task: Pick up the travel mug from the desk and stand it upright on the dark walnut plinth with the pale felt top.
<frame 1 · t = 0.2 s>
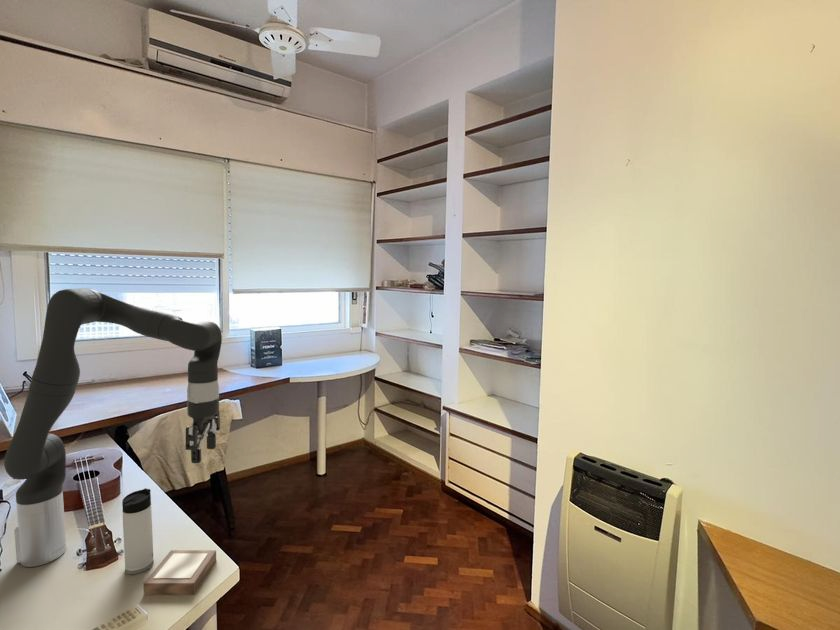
hand: (204, 455, 112), 29 cm above the table, fingers open, 8 cm apart
travel mug: (140, 566, 111), on the table
plinth: (182, 576, 107), on the table
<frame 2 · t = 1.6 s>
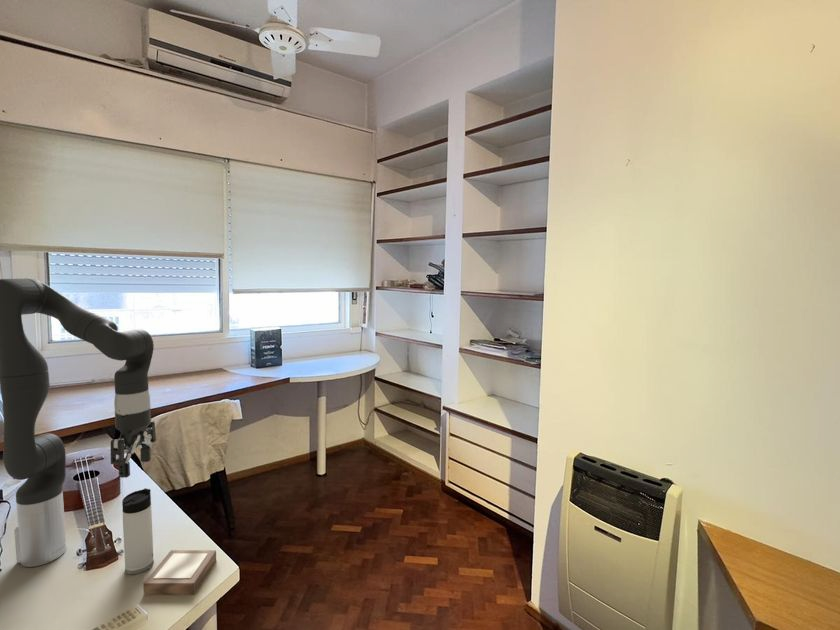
hand: (135, 468, 108), 27 cm above the table, fingers open, 8 cm apart
nothing on the table moved.
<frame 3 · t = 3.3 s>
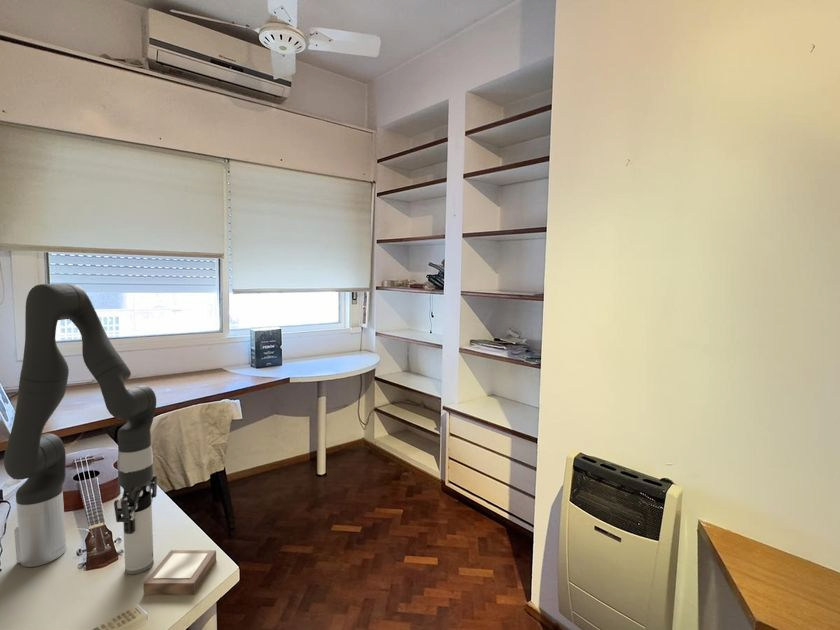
hand: (138, 524, 109), 12 cm above the table, fingers closed on travel mug, 6 cm apart
travel mug: (140, 566, 111), on the table, touching gripper
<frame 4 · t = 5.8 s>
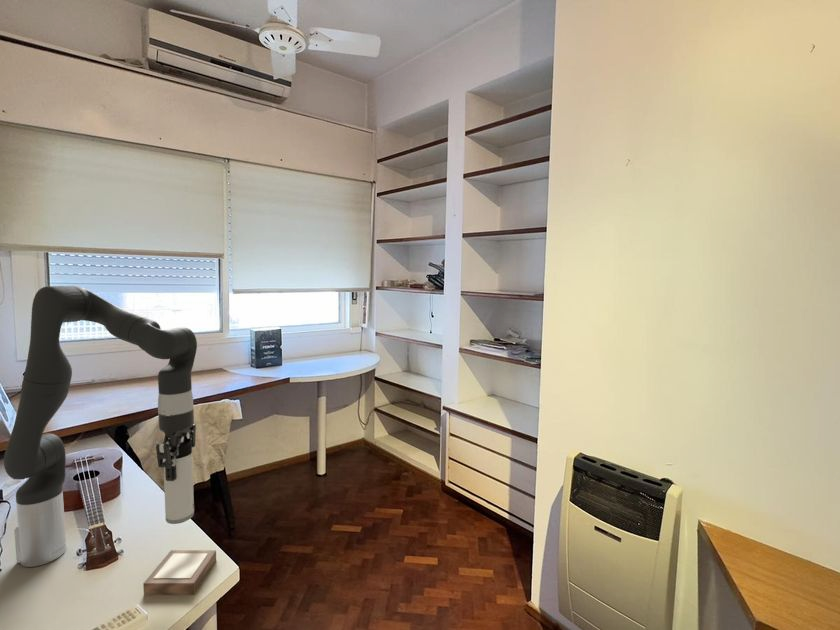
hand: (178, 473, 104), 28 cm above the table, fingers closed on travel mug, 6 cm apart
travel mug: (180, 517, 106), point 16 cm above the table, touching gripper
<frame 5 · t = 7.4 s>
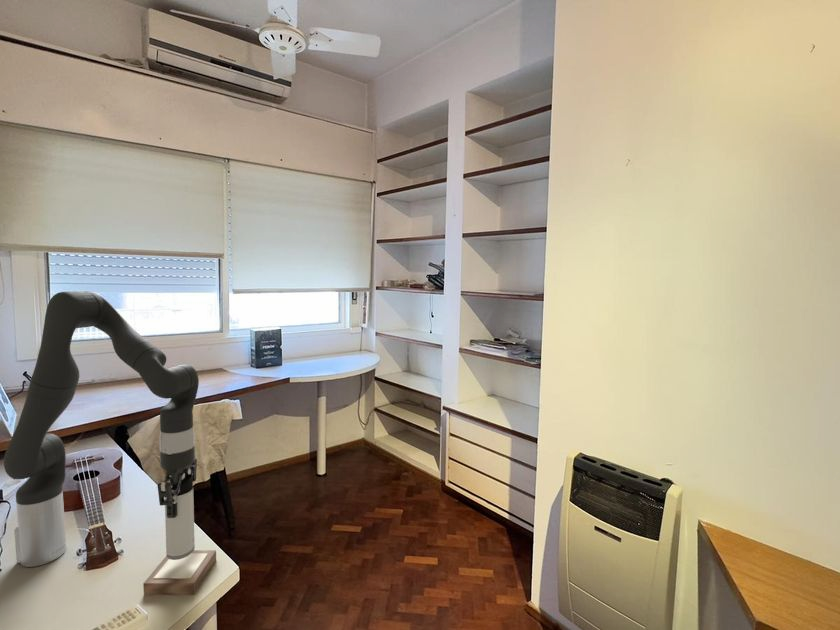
hand: (179, 509, 105), 18 cm above the table, fingers closed on travel mug, 6 cm apart
travel mug: (181, 552, 107), point 7 cm above the table, touching gripper
when the fingers open (16 cm above the table, at t = 8.5 s): travel mug drops 1 cm, resting on plinth.
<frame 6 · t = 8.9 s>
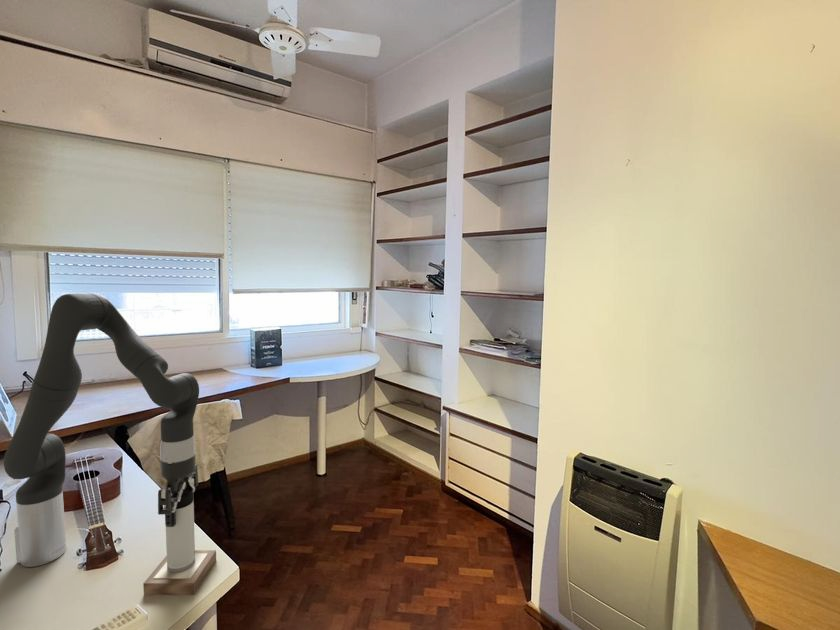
hand: (180, 515, 105), 17 cm above the table, fingers open, 8 cm apart
travel mug: (182, 564, 107), point 3 cm above the table, touching plinth
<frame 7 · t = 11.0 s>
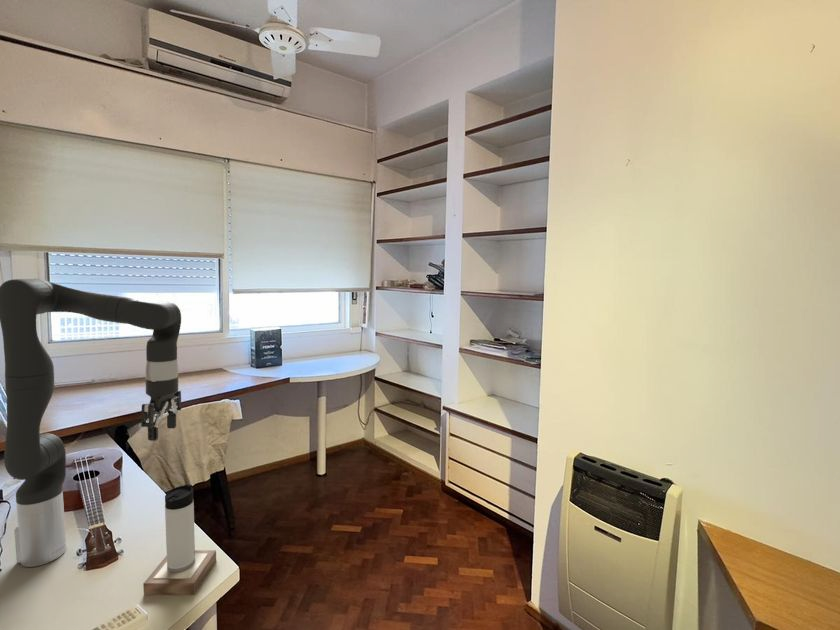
hand: (162, 433, 114), 34 cm above the table, fingers open, 8 cm apart
nothing on the table moved.
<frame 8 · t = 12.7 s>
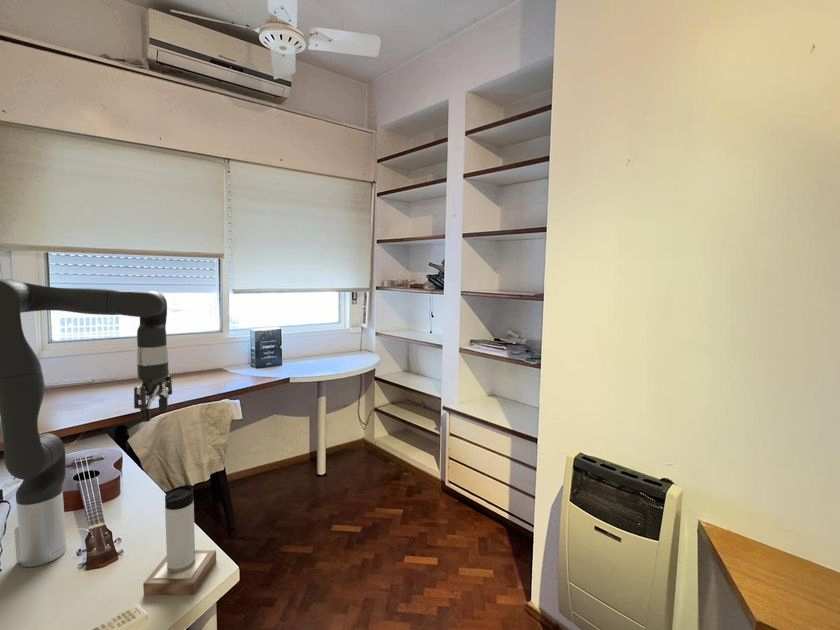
hand: (154, 416, 121), 36 cm above the table, fingers open, 8 cm apart
nothing on the table moved.
at the end: travel mug inside the target area on the plinth (0.4 cm from its centre), point 3.0 cm above the plinth's base; travel mug tilted 0°; the gripper is holding nothing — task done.
